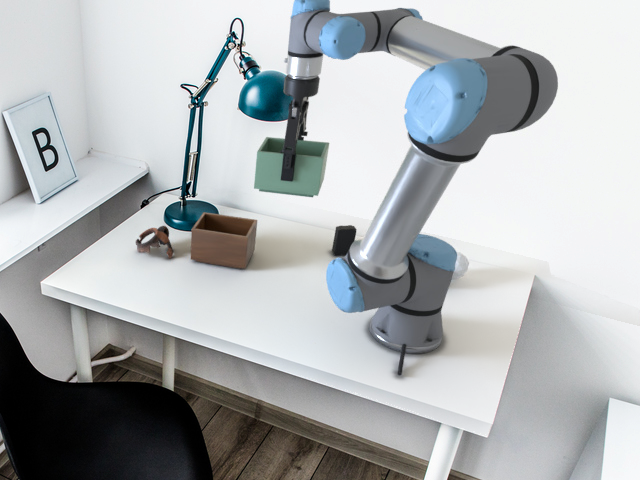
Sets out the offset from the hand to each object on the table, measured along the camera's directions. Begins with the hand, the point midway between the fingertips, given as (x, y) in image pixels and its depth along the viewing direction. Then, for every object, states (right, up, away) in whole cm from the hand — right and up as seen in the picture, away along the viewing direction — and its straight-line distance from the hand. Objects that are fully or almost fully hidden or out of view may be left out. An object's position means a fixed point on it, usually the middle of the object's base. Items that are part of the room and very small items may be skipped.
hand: (290, 171), depth 156 cm
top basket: (0, -3, +2) cm, 4 cm away
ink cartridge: (+20, -17, +23) cm, 34 cm away
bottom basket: (-13, -18, +22) cm, 31 cm away
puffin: (+44, -21, +9) cm, 49 cm away
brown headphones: (-31, -16, +26) cm, 43 cm away
